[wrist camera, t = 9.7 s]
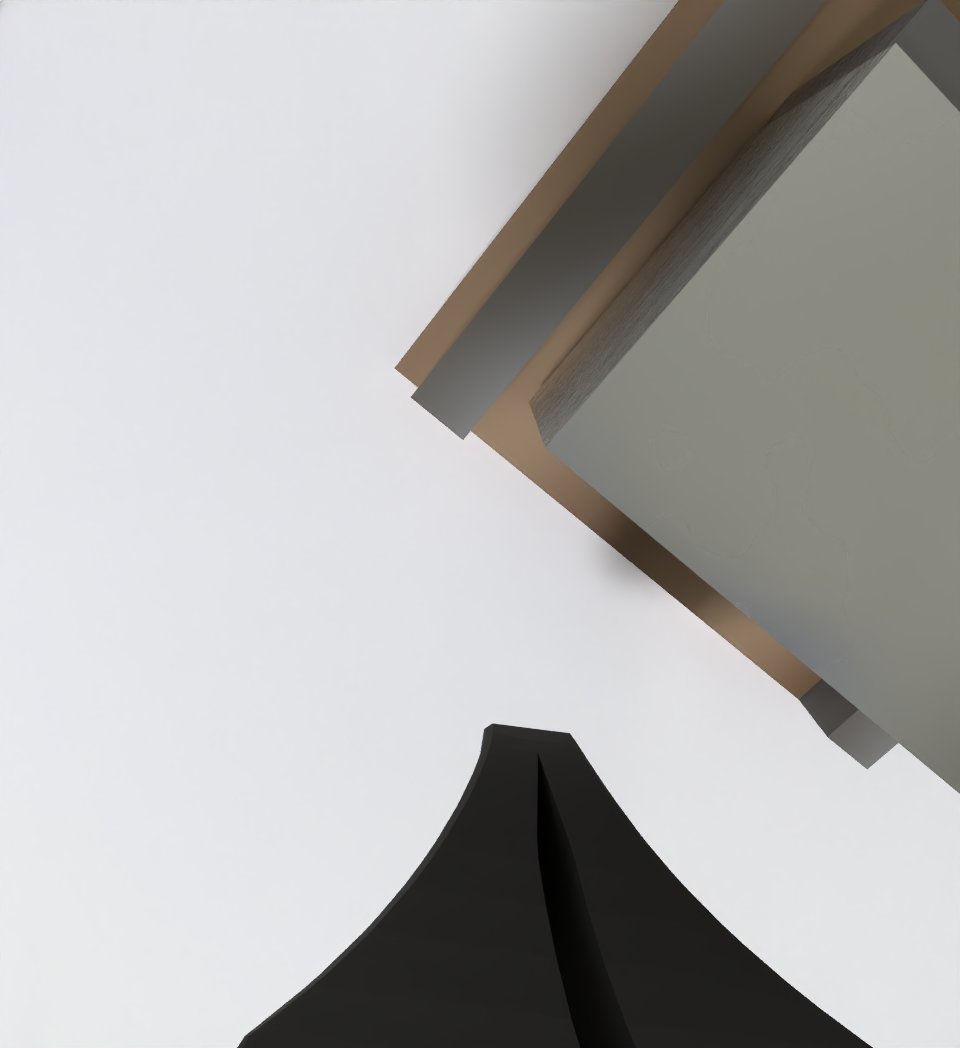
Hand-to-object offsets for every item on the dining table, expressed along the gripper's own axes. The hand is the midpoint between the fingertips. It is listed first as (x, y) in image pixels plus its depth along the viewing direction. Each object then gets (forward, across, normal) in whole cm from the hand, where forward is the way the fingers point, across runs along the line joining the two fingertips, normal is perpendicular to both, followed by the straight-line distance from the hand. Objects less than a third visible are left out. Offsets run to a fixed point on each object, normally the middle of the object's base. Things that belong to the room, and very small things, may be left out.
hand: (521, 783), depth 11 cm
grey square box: (+2, -4, -6) cm, 8 cm away
